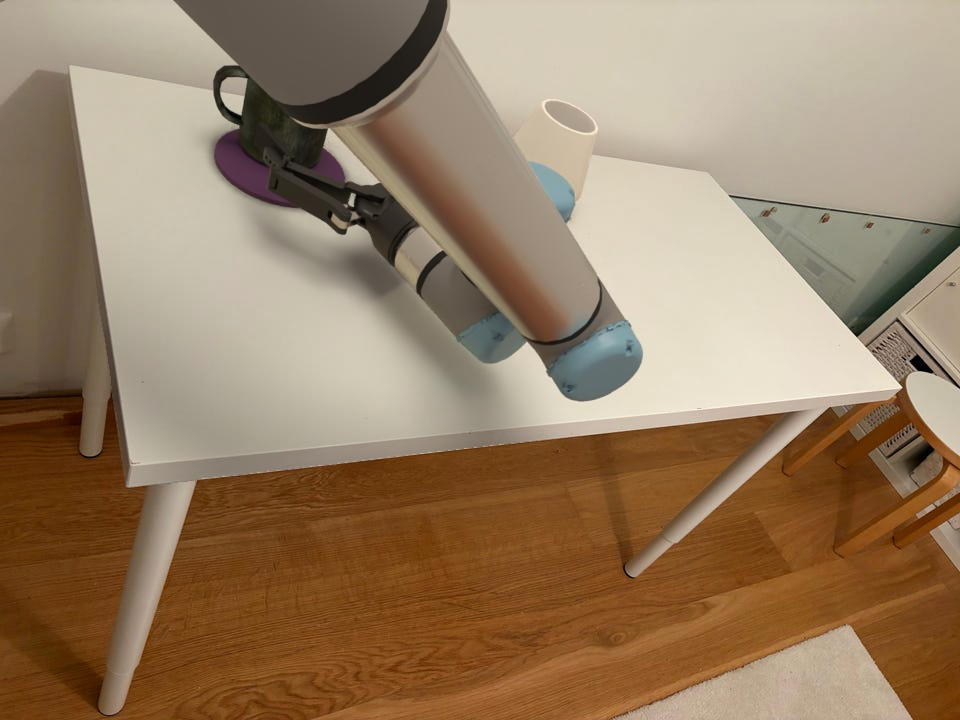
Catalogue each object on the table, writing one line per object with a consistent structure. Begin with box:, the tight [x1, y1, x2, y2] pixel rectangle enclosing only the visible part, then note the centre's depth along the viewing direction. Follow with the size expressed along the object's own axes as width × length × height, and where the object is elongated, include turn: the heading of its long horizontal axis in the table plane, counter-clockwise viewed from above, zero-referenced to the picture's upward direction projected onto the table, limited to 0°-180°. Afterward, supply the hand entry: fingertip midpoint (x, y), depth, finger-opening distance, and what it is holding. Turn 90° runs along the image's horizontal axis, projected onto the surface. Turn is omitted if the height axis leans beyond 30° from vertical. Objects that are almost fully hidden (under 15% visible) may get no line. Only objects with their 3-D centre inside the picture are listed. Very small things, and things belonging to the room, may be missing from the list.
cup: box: [512, 98, 599, 203], centre depth 105 cm, size 13×13×14 cm
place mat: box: [214, 128, 346, 209], centre depth 91 cm, size 16×16×1 cm
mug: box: [212, 64, 329, 168], centre depth 88 cm, size 11×15×12 cm
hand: (310, 128), depth 84 cm, fingers open, 13 cm apart
